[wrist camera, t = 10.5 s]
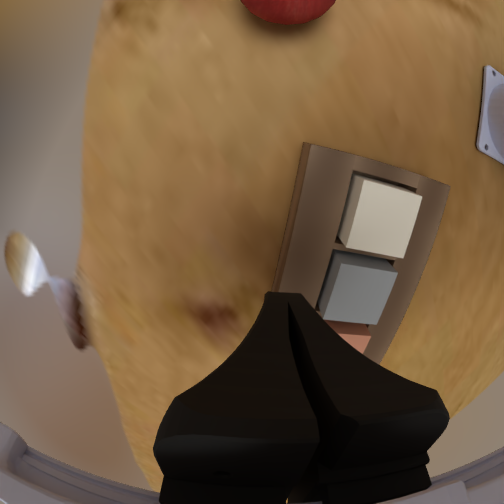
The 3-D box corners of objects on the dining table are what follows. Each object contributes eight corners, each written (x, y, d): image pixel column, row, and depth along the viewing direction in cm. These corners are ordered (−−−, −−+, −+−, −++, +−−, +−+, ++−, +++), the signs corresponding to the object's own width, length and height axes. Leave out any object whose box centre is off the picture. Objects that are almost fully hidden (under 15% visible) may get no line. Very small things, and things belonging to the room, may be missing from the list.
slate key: (383, 256, 19) (397, 272, 17) (365, 304, 21) (376, 324, 18) (331, 246, 19) (341, 263, 17) (316, 298, 21) (322, 319, 18)
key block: (428, 178, 19) (450, 186, 16) (364, 352, 25) (373, 374, 22) (303, 142, 18) (311, 144, 15) (259, 342, 24) (259, 367, 22)
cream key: (403, 187, 17) (422, 196, 15) (387, 243, 19) (403, 258, 16) (350, 172, 17) (363, 179, 15) (335, 232, 19) (346, 247, 16)
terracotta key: (361, 315, 21) (371, 336, 19) (344, 353, 23) (351, 375, 20) (312, 309, 21) (318, 331, 19) (299, 350, 23) (302, 372, 20)
